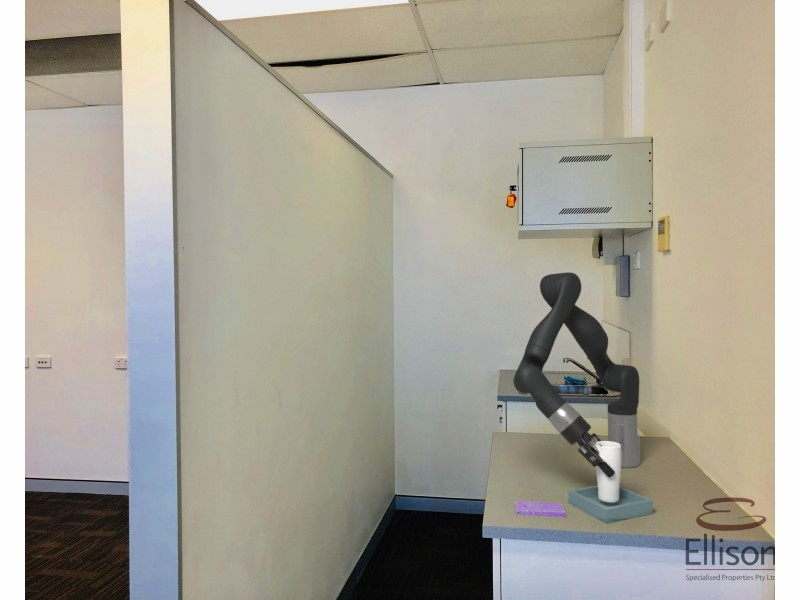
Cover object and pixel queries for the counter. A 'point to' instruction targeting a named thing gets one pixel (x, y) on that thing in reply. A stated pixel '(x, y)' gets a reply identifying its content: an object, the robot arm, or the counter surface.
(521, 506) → the sponges
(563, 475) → the counter surface
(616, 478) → the white paper cup
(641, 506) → the tray
